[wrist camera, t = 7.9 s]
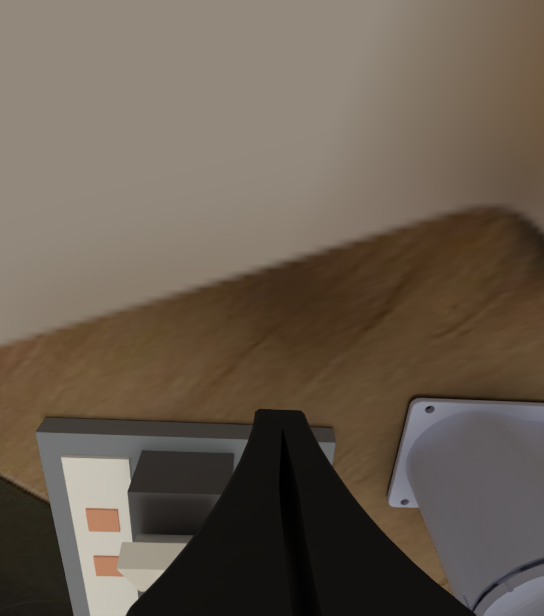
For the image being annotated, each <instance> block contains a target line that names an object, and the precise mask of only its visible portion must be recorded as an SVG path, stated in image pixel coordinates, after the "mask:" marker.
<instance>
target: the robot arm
mask: <svg viewBox="0 0 544 616" xmlns="http://www.w3.org/2000/svg"><path fill="white" fill-rule="evenodd" d="M428 406H431V408H429V409H426V407H428ZM403 499H404V500H403ZM387 500H388V503H389V505H390V506H392V507H410V508H419V509H420V512H421V514H422V517H423V519H424V522H425V524H426V527H427V529H428V532H429V534H430V537H431V539H432V542H433V544H434V547H435V549H436V552H437V554H438V557H439V559H440V562H441V564H442V567H443V569H444V572H445V574H446V577H447V579H448V582H449V584H450V587H451V590H452V592H453V595H454V596H452V595H451V594H450V593H449V592H447V591H446V590H445V589H444V588H442V587H441V586H440V585H439V584H437V583H436V582H435V581H434V580H433V579H431V578H430V577H429V576H428V575H427V574H426V573H425V572H424V571H422V570H421V569H420V568H419V567H418V566H417V565H416V564H415V563H413V562H412V561H411V560H410V559H409V558H408V557H407V556H406V555H405V554H404V553H403V552H402V551H401V550H400V549H399V548H398V547H397V546H396V545H395V544H394V543H393V542H392V541H391V540H390V539H389V538H388V537H387V536H386V534H385V533H384V532H383V531H382V530H381V529H380V528H379V527H378V526H377V524H376V523H375V522H374V521H373V520H372V519H371V518H370V516H369V515H368V514H367V513H366V512H365V510H364V509H363V508H362V507H361V506H360V504H359V503H358V502H357V501H356V499H355V498H354V497H353V495H352V494H351V493H350V491H349V490H348V489H347V487H346V486H345V484H344V483H343V481H342V480H341V479H340V477H339V476H338V474H337V473H336V471H335V470H334V468H333V467H332V465H331V463H330V462H329V460H328V459H327V457H326V455H325V454H324V452H323V450H322V449H321V447H320V445H319V443H318V442H317V440H316V438H315V436H314V434H313V432H312V430H311V428H310V426H309V424H308V422H307V420H306V417H305V415H304V413H303V412H302V411H297V410H271V409H259V410H257V411H256V412H255V418H254V423H253V427H252V430H251V433H250V436H249V439H248V442H247V444H246V447H245V449H244V451H243V454H242V456H241V459H240V461H239V463H238V465H237V467H236V469H235V471H234V473H233V475H232V476H231V478H230V480H229V482H228V484H227V486H226V488H225V489H224V491H223V493H222V495H221V496H220V498H219V499H218V501H217V503H216V504H215V506H214V507H213V509H212V510H211V512H210V513H209V515H208V516H207V518H206V519H205V521H204V522H203V523H202V525H201V526H200V528H199V529H198V531H197V532H196V533H195V535H194V536H193V537H192V539H191V540H190V541H189V542H188V544H187V545H186V546H185V547H184V548H183V550H182V551H181V552H180V553H179V554H178V556H177V557H176V558H175V559H174V561H173V562H172V563H171V564H170V565H169V567H168V568H167V569H166V570H165V571H164V572H163V573H162V574H161V576H160V577H159V578H158V579H157V580H156V581H155V582H154V583H153V584H152V585H151V586H150V587H149V588H148V589H147V590H146V591H145V592H144V593H143V594H142V595H141V596H140V597H139V598H138V600H137V601H136V602H135V603H134V604H133V605H132V606H131V607H130V608H129V610H128V612H127V614H126V616H544V403H533V402H508V401H484V400H459V399H435V398H417V399H414V400H413V401H412V402H411V403H410V406H409V410H408V414H407V418H406V422H405V426H404V430H403V435H402V439H401V443H400V447H399V451H398V455H397V459H396V463H395V467H394V471H393V475H392V479H391V483H390V487H389V491H388V496H387Z"/></svg>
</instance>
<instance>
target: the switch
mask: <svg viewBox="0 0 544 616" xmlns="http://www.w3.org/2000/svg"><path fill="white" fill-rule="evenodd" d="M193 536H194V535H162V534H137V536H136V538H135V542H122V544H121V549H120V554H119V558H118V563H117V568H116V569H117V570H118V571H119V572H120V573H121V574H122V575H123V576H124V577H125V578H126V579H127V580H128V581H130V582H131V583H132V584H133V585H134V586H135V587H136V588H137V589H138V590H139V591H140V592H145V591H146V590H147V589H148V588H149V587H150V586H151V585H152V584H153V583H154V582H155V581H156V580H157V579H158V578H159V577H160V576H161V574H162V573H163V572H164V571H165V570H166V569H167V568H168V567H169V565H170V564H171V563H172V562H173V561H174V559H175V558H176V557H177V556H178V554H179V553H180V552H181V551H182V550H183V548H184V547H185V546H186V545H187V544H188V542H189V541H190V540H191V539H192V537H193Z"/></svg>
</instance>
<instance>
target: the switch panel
mask: <svg viewBox="0 0 544 616" xmlns="http://www.w3.org/2000/svg"><path fill="white" fill-rule="evenodd" d="M252 427H253V425H239V424H212V423H185V422H158V421H131V420H104V419H77V418H50V417H46V418H45V419H44V421H43V422H42V423H41V425H40V426H39V428H38V429H37V431H36V432H35V433H36V438H37V442H38V447H39V452H40V457H41V461H42V466H43V471H44V476H45V480H46V485H47V490H48V495H49V499H50V504H51V509H52V514H53V518H54V523H55V528H56V533H57V537H58V542H59V547H60V551H61V556H62V561H63V566H64V570H65V575H66V580H67V585H68V589H69V594H70V599H71V604H72V608H73V613H74V616H126V614H127V612H128V610H129V608H130V607H131V606H132V605H133V604H134V603H135V602H136V601H137V600H138V598H139V597H140V596H141V595H142V594H143V593H144V592H140V591H139V590H138V589H137V588H136V587H135V586H134V585H133V584H132V583H131V582H130V581H128V580H127V579H126V578H125V577H124V576H123V575H122V574H121V573H120V572H119V571H118V570H117V569H116V568H117V563H118V558H119V554H120V549H121V544H122V542H135V538H136V536H137V534H162V535H195V533H196V532H197V531H198V529H199V528H200V526H201V525H202V523H203V522H204V521H205V519H206V518H207V516H208V515H209V513H210V512H211V510H212V509H213V507H214V506H215V504H216V503H217V501H218V499H219V498H220V496H221V495H222V493H223V491H224V489H225V488H226V486H227V484H228V482H229V480H230V478H231V476H232V475H233V473H234V471H235V469H236V467H237V465H238V463H239V461H240V459H241V456H242V454H243V451H244V449H245V447H246V444H247V442H248V439H249V436H250V433H251V430H252ZM310 428H311V430H312V432H313V434H314V436H315V438H316V440H317V442H318V443H319V445H320V447H321V449H322V450H323V452H324V454H325V455H326V457H327V459H328V460H329V462H330V463H331V465H332V463H333V457H334V451H335V445H336V441H335V437H334V432H333V428H320V427H310Z"/></svg>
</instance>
